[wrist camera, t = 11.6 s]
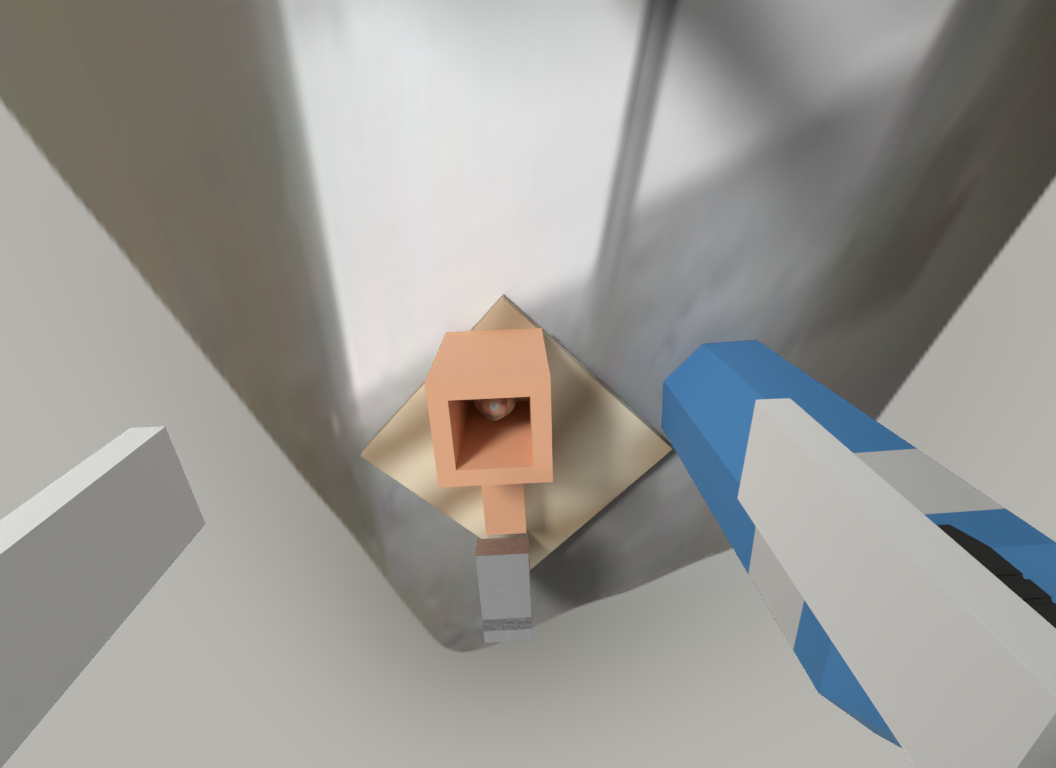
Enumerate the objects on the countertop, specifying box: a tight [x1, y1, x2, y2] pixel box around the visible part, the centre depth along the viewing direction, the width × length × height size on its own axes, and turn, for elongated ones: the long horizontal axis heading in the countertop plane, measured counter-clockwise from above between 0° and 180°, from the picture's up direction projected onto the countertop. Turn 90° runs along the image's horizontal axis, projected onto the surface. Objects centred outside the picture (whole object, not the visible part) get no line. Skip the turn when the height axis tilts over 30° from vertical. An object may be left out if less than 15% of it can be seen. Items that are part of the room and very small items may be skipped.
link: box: [425, 328, 553, 535], centre depth 29 cm, size 14×6×8 cm, turn 2°
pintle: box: [474, 397, 516, 421], centre depth 29 cm, size 2×2×5 cm
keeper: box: [476, 531, 533, 643], centre depth 33 cm, size 7×3×9 cm, turn 2°
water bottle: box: [662, 340, 1056, 749], centre depth 23 cm, size 9×9×25 cm
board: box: [361, 294, 672, 570], centre depth 34 cm, size 16×15×1 cm
